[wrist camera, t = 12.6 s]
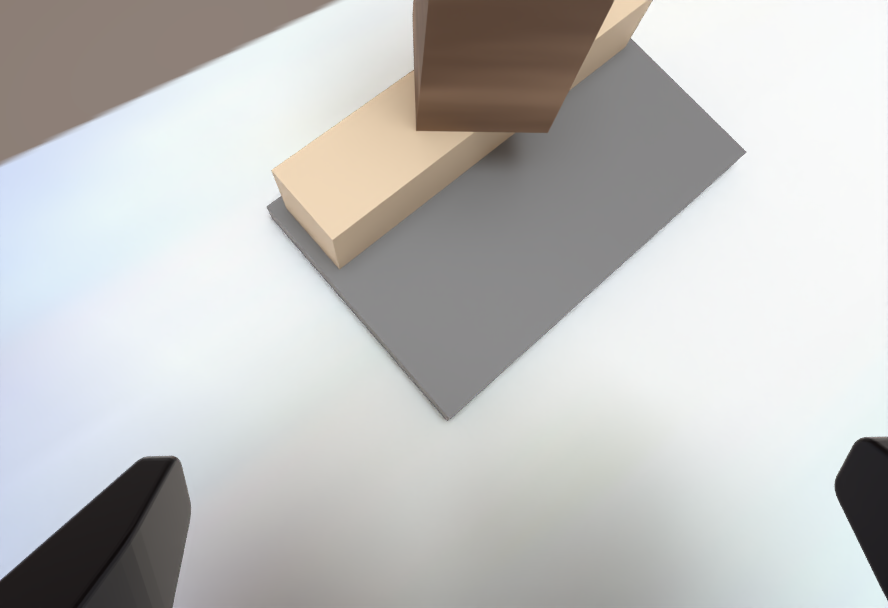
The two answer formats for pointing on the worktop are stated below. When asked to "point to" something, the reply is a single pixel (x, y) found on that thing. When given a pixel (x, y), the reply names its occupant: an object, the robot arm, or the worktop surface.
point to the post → (499, 61)
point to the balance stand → (496, 210)
